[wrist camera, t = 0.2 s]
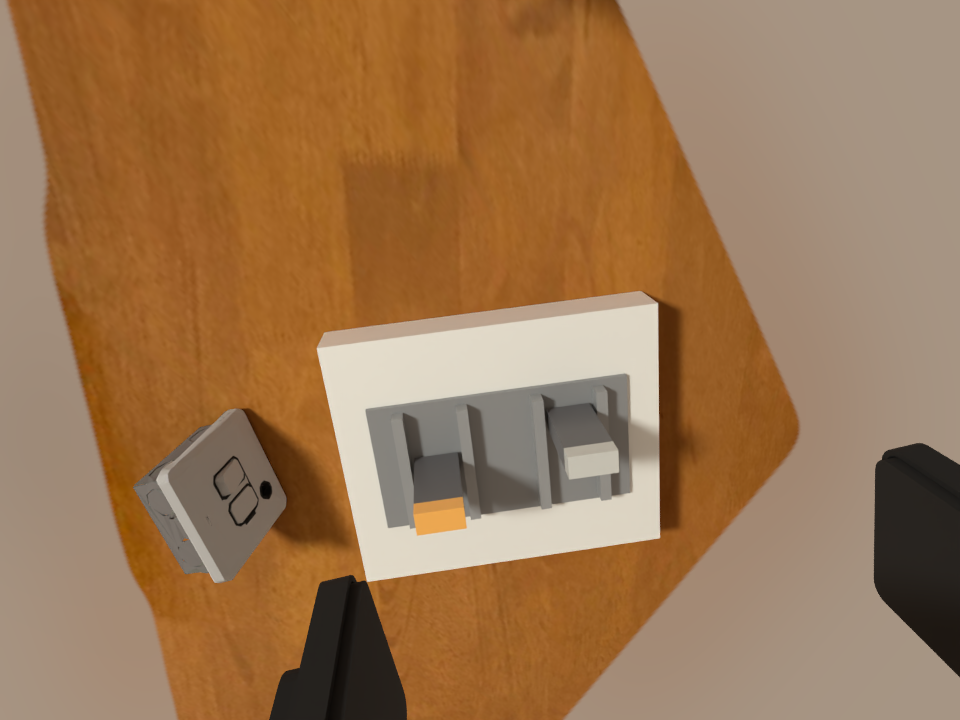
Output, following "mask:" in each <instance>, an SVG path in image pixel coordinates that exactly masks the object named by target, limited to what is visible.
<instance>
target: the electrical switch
mask: <svg viewBox="0 0 960 720" xmlns="http://www.w3.org/2000/svg"><path fill="white" fill-rule="evenodd" d="M141 484H144V485H141ZM135 485H138V486H134V487H133V488H134V489H135V491H136V493H137V494H138V496H139V498H140V499H141V501H142V503H143V504H144V506H145V508H146V509H147V511H148V513H149V514H150V516H151V518H152V519H153V521H154V523H155V524H156V526H157V528H158V529H159V531H160V533H161V534H162V536H163V538H164V539H165V541H166V543H167V544H168V546H169V548H170V549H171V551H172V553H173V554H174V556H175V558H176V559H177V561H178V563H179V564H180V566H181V568H182V569H183V571H184V573H185V574H190V573H197V572H202V573H209V574H210V575H211V577H212V579H213V581H214V582H215V583H222V582H226V581H230V580H233V578H234V577H235V576H236V574H237V573H238V571H239V570H240V569H241V567H242V566H243V565H244V563H245V562H246V561H247V559H248V558H249V557H250V555H251V554H252V552H253V551H254V550H255V548H256V547H257V546H258V544H259V543H260V542H261V540H262V539H263V537H264V536H265V535H266V533H267V532H268V531H269V529H270V528H271V527H272V525H273V524H274V523H275V521H276V520H277V518H278V517H279V516H280V514H281V513H282V512H283V510H284V509H285V508H286V495H285V493H284V491H283V489H282V487H281V485H280V483H279V481H278V479H277V477H276V475H275V473H274V471H273V469H272V467H271V465H270V463H269V461H268V459H267V457H266V455H265V453H264V451H263V449H262V447H261V445H260V443H259V441H258V439H257V437H256V435H255V433H254V431H253V429H252V427H251V425H250V423H249V421H248V418H247V416H246V414H245V412H244V411H243V410H241V409H231V410H228V411H226V412H224V413H223V414H222V415H221V416H220V417H219V419H218V420H217V421H216V422H215V423H214V424H212V425H209V426H204V427H200V428H199V429H198V430H196V431H195V432H194V433H193V434H192V435H191V436H190V437H188V438H187V439H186V440H185V441H184V442H183V443H182V444H181V445H179V446H178V447H177V448H176V449H175V450H174V451H173V452H171V453H170V454H169V455H168V456H167V457H166V458H165V459H163V460H162V461H161V462H160V463H159V464H158V465H157V466H156V467H154V468H153V469H152V470H151V471H150V472H149V473H148V474H146V475H145V476H144V477H143V478H142V479H141V480H140V481H138V482H137V483H136V484H135ZM184 538H186V539H189V540H187V541H182V540H183V539H184ZM183 560H184V561H183Z"/></svg>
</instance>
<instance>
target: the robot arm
mask: <svg viewBox="0 0 960 720" xmlns="http://www.w3.org/2000/svg"><path fill="white" fill-rule="evenodd" d="M874 583H875V587H876V589H877V592H878V594H879V595H880V597H881V598H882V600H883V601H884V602H885V603H886V604H887V605H888V606H889V607H890V608H891V609H892V610H893V611H894V612H895V613H896V614H897V615H898V616H899V617H900V618H901V619H902V620H903V621H904V622H905V623H906V624H907V625H908V626H909V627H910V628H911V629H912V630H913V631H914V632H915V633H916V634H917V635H918V636H919V637H920V638H921V639H922V640H923V641H924V642H925V643H926V644H927V645H928V646H929V647H930V648H931V649H932V650H933V651H934V652H935V653H936V654H937V655H938V656H939V657H940V658H941V659H942V660H943V661H944V662H945V663H946V664H947V665H948V666H949V667H950V668H951V669H952V670H953V671H954V672H955V673H956V674H957V675H958V676H959V677H960V465H959V464H957V463H956V462H954V461H952V460H950V459H949V458H947V457H946V456H944V455H942V454H941V453H939V452H937V451H936V450H934V449H933V448H931V447H929V446H927V445H925V444H922V443H916V444H912V445H908V446H904V447H899V448H895V449H891V450H888V451H886V452H885V453H884V455H883V456H882V460H880V461H879V462H878V463H877V464H876V469H875V530H874ZM269 720H407V708H406V699H405V694H404V690H403V687H402V684H401V681H400V678H399V675H398V672H397V669H396V667H395V664H394V661H393V658H392V655H391V652H390V649H389V646H388V643H387V640H386V637H385V634H384V631H383V628H382V625H381V622H380V619H379V616H378V613H377V610H376V607H375V604H374V601H373V598H372V595H371V593H370V590H369V587H368V584H367V582H366V581H361V582H357V581H356V579H355V578H354V576H353V575H349V576H345V577H341V578H336V579H332V580H328V581H323V582H321V583H320V585H319V588H318V592H317V596H316V600H315V605H314V609H313V613H312V618H311V622H310V626H309V630H308V635H307V639H306V643H305V648H304V652H303V656H302V660H301V665H300V668H297V669H293V670H289V671H286V672H285V673H284V674H283V675H282V677H281V679H280V682H279V685H278V689H277V692H276V696H275V700H274V704H273V707H272V711H271V715H270V719H269Z"/></svg>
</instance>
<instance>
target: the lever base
mask: <svg viewBox="0 0 960 720" xmlns="http://www.w3.org/2000/svg"><path fill="white" fill-rule="evenodd" d="M317 351H318V356H319V360H320V365H321V370H322V374H323V379H324V384H325V388H326V393H327V397H328V402H329V407H330V411H331V416H332V421H333V425H334V430H335V435H336V439H337V444H338V449H339V453H340V458H341V462H342V467H343V472H344V476H345V481H346V486H347V490H348V495H349V500H350V504H351V509H352V513H353V518H354V523H355V527H356V532H357V537H358V541H359V546H360V551H361V555H362V560H363V564H364V569H365V574H366V578H367V582H369V581H376V580H383V579H390V578H396V577H403V576H410V575H416V574H423V573H430V572H437V571H443V570H450V569H457V568H463V567H470V566H477V565H483V564H490V563H497V562H504V561H510V560H517V559H524V558H530V557H537V556H544V555H550V554H557V553H564V552H571V551H577V550H584V549H591V548H597V547H604V546H611V545H618V544H624V543H631V542H638V541H644V540H651V539H658V538H660V484H659V361H658V303H657V302H656V301H654V300H653V299H652V298H650V297H649V296H647V295H646V294H645V293H643V292H642V291H637V292H629V293H621V294H614V295H606V296H599V297H591V298H583V299H576V300H568V301H560V302H553V303H545V304H537V305H530V306H522V307H515V308H507V309H499V310H492V311H484V312H476V313H469V314H461V315H453V316H446V317H438V318H431V319H423V320H415V321H408V322H400V323H392V324H385V325H377V326H369V327H362V328H354V329H347V330H339V331H331V332H324V334H323V337H322V339H321V341H320V343H319V345H318V347H317ZM454 452H458V458H459V465H460V473H461V482H462V490H463V499H464V508H465V517H466V525H467V528H466V529H460V530H453V531H446V532H439V533H432V534H425V535H419V536H417V533H416V527H415V521H414V516H413V505H414V458H418V457H426V456H433V455H440V454H447V453H454Z"/></svg>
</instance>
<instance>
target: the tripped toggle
mask: <svg viewBox="0 0 960 720" xmlns="http://www.w3.org/2000/svg"><path fill="white" fill-rule="evenodd" d="M413 516H414V521H415V527H416V533H417V536H419V535H425V534H432V533H439V532H446V531H453V530H460V529H466V528H467V525H466V517H465V508H464V499H463V490H462V482H461V473H460V465H459V458H458V452H454V453H447V454H440V455H433V456H426V457H418V458H414V505H413Z"/></svg>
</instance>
